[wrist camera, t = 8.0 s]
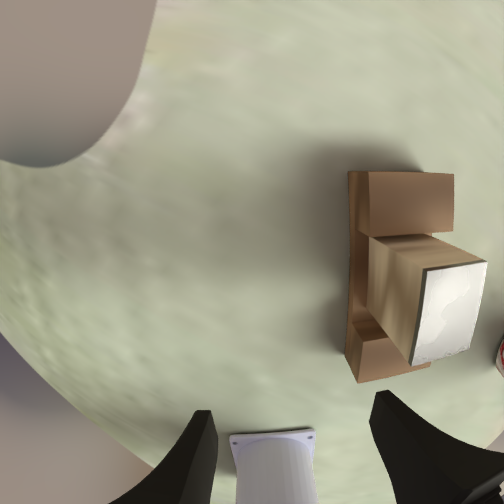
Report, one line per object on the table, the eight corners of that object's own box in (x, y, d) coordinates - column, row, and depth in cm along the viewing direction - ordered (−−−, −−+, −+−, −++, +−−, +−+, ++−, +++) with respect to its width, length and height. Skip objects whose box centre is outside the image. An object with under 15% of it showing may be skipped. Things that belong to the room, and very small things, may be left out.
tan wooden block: (414, 299, 19) (468, 349, 12) (366, 307, 19) (411, 366, 12) (420, 231, 17) (487, 261, 11) (368, 235, 17) (427, 271, 11)
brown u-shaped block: (410, 343, 21) (429, 366, 17) (344, 355, 21) (357, 383, 18) (424, 172, 17) (453, 174, 14) (347, 171, 17) (368, 171, 14)
